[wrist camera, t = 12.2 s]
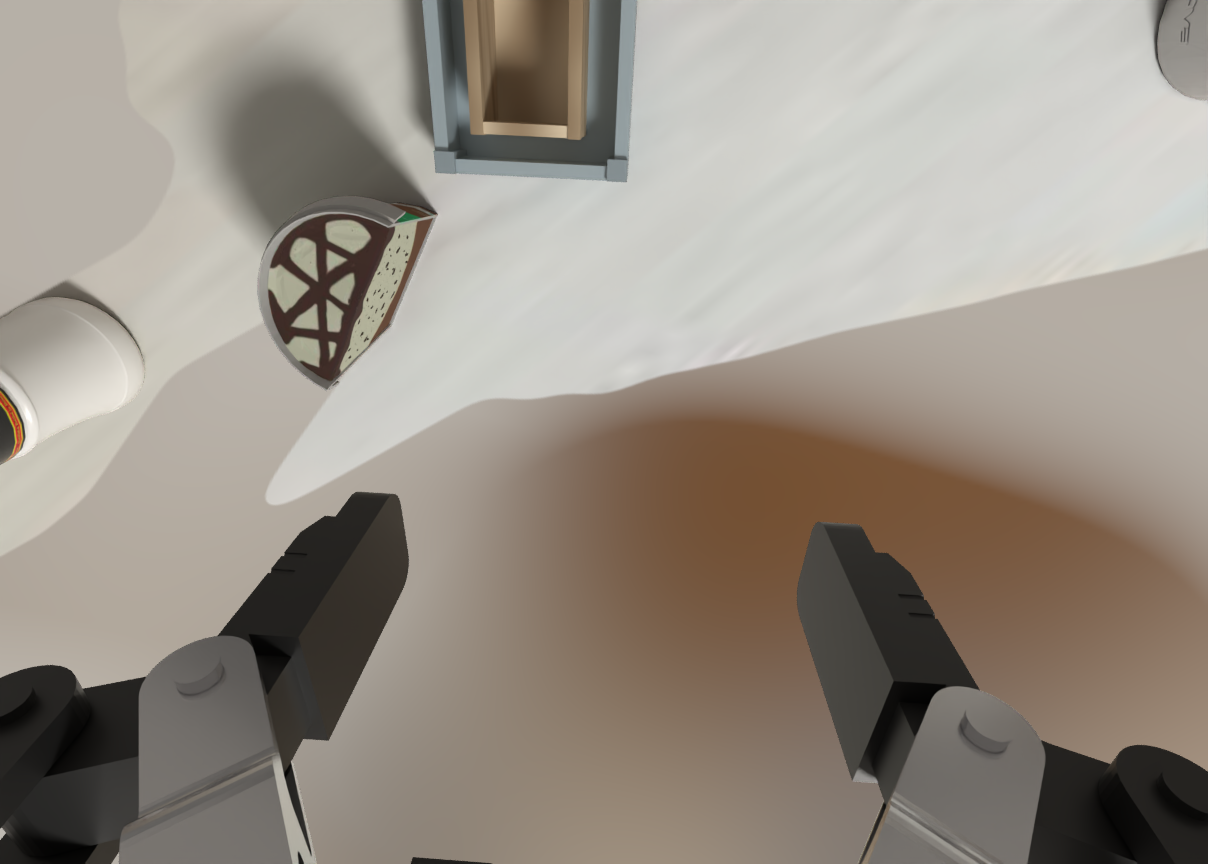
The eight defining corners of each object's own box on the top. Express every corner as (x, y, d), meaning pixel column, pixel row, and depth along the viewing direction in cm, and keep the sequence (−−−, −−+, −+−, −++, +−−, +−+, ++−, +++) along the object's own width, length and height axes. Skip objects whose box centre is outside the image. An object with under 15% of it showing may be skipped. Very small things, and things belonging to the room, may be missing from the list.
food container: (360, 143, 39) (278, 152, 30) (446, 194, 40) (392, 217, 31) (307, 301, 44) (225, 349, 35) (384, 342, 45) (323, 397, 36)
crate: (643, -118, 32) (644, -144, 28) (627, 176, 39) (626, 182, 35) (430, -126, 32) (406, -153, 29) (452, 167, 39) (435, 172, 36)
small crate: (592, -70, 32) (585, -99, 28) (586, 136, 37) (579, 140, 33) (481, -75, 32) (456, -105, 28) (490, 131, 37) (470, 134, 33)
